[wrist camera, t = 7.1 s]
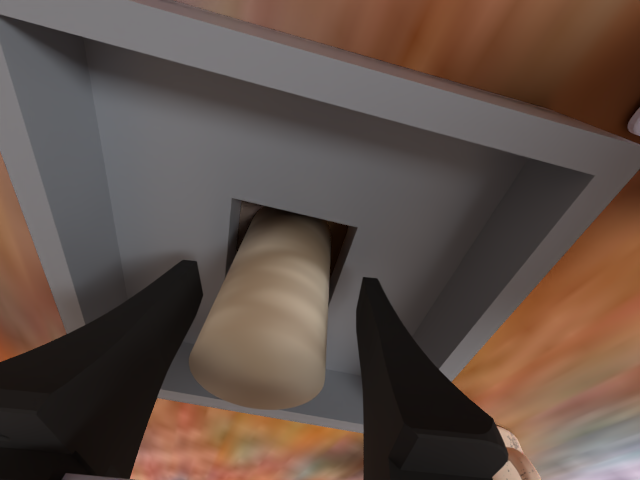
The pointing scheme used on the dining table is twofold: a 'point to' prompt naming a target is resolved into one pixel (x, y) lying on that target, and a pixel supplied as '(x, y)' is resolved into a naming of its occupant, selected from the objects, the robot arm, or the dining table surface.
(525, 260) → the box
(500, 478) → the teacup with lid
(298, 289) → the peg
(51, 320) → the dining table surface
